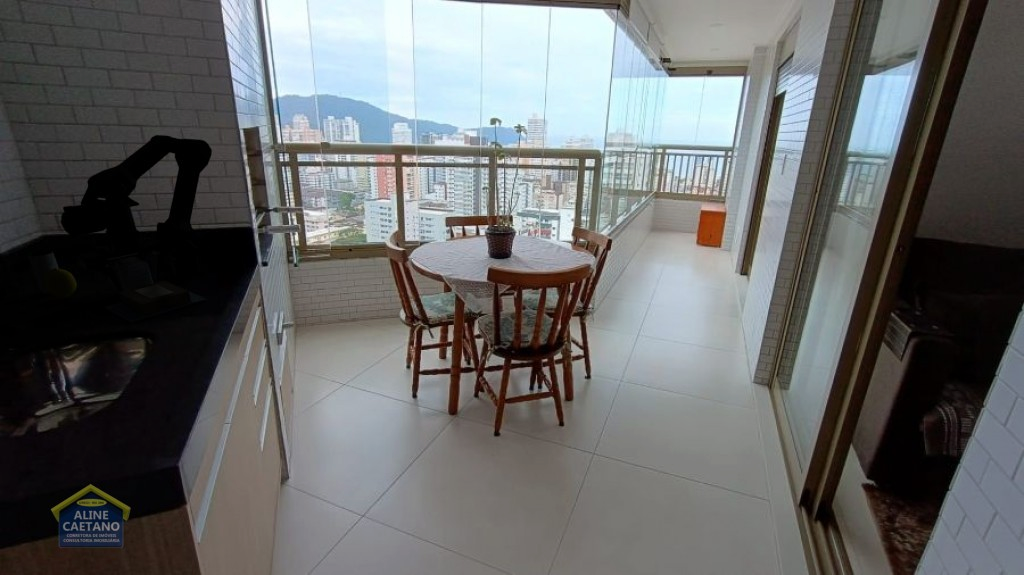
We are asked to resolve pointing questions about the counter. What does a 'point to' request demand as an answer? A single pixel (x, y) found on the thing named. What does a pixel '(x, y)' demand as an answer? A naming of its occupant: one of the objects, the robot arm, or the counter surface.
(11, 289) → the counter surface
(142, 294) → the plinth
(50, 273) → the lemon
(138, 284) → the medicine box
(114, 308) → the blueprint mat
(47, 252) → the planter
